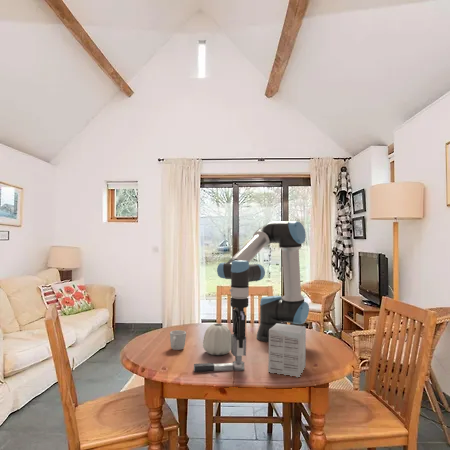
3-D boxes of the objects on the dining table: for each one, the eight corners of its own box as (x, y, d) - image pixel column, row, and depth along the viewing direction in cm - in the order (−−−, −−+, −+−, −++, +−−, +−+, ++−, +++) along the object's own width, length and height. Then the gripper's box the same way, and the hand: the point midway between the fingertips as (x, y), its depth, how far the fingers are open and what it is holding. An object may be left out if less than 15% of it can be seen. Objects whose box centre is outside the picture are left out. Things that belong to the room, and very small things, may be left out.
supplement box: (275, 362, 157) (276, 322, 158) (305, 367, 152) (306, 326, 153) (267, 372, 145) (268, 329, 146) (300, 378, 140) (300, 333, 141)
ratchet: (242, 366, 152) (242, 352, 152) (245, 370, 147) (245, 355, 147) (193, 368, 148) (193, 354, 148) (194, 373, 143) (195, 358, 143)
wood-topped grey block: (242, 351, 152) (243, 333, 152) (245, 355, 147) (246, 337, 147) (230, 352, 151) (231, 334, 151) (233, 355, 146) (233, 337, 146)
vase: (210, 359, 160) (211, 329, 161) (198, 350, 172) (199, 322, 173) (237, 355, 166) (238, 326, 167) (223, 347, 179) (224, 320, 179)
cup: (180, 353, 168) (181, 336, 168) (164, 352, 169) (165, 335, 170) (187, 346, 178) (188, 330, 179) (172, 345, 180) (173, 329, 180)
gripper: (226, 294, 158) (225, 347, 157) (235, 300, 140) (234, 360, 139) (243, 294, 160) (242, 346, 159) (253, 300, 142) (252, 359, 141)
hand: (238, 353), depth 149 cm, fingers closed on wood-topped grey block, 5 cm apart
